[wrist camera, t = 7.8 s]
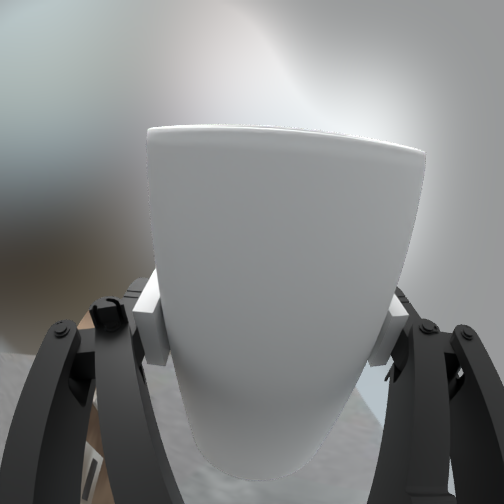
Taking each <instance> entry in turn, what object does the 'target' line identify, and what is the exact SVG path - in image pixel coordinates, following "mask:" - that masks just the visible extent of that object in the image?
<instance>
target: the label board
mask: <svg viewBox="0 0 504 504" xmlns="http://www.w3.org/2000/svg"><path fill="white" fill-rule="evenodd" d="M77 328H78V330H79V329H89V328H95V326H94V324H93V321H92V318H91V315H90V313H89V310H88V312H87V313H86V315H85V316H84V317H83V319H82V320H81V322H80V324H79V325H78V326H77ZM80 504H115V502H114V499H113V495H112V491H111V487H110V483H109V478H108V474H107V469H106V464H105V458H104V453H103V447H102V440H101V433H100V425H99V417H98V407H97V394H96V388H95V393H94V398H93V403H92V408H91V413H90V419H89V425H88V431H87V438H86V445H85V452H84V461H83V471H82V483H81V502H80Z"/></svg>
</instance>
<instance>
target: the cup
mask: <svg viewBox="0 0 504 504" xmlns="http://www.w3.org/2000/svg"><path fill="white" fill-rule="evenodd" d="M146 152H147V179H148V195H149V208H150V220H151V230H152V240H153V249H154V257H155V264H156V272H157V279H158V285H159V292H160V298H161V304H162V309H163V315H164V320H165V326H166V331H167V336H168V341H169V345H170V350H171V355H172V359H173V363H174V368H175V372H176V376H177V380H178V384H179V388H180V392H181V396H182V399H183V403H184V407H185V410H186V414H187V417H188V420H189V424H190V427H191V430H192V434H193V437H194V440H195V443H196V445H197V447H198V449H199V450H200V452H201V453H202V455H203V456H204V457H205V458H206V459H207V461H208V462H210V463H211V464H212V465H213V466H214V467H216V468H217V469H219V470H220V471H222V472H224V473H226V474H228V475H231V476H233V477H236V478H240V479H244V480H251V481H267V480H274V479H278V478H282V477H285V476H288V475H290V474H292V473H294V472H296V471H298V470H299V469H301V468H302V467H304V466H305V465H306V464H307V463H308V462H309V461H310V460H311V459H312V458H313V457H314V456H315V454H316V453H317V451H318V450H319V448H320V446H321V445H322V443H323V442H324V440H325V439H326V437H327V435H328V434H329V432H330V430H331V429H332V427H333V425H334V424H335V422H336V420H337V419H338V417H339V415H340V413H341V411H342V410H343V408H344V406H345V404H346V402H347V401H348V399H349V397H350V395H351V393H352V391H353V389H354V387H355V385H356V383H357V381H358V379H359V377H360V375H361V373H362V371H363V369H364V367H365V365H366V362H367V360H368V358H369V356H370V354H371V351H372V349H373V347H374V344H375V342H376V340H377V337H378V335H379V332H380V330H381V328H382V325H383V322H384V320H385V317H386V315H387V312H388V309H389V307H390V304H391V301H392V298H393V295H394V293H395V290H396V287H397V283H398V281H399V277H400V274H401V271H402V268H403V264H404V261H405V258H406V254H407V251H408V247H409V243H410V239H411V236H412V231H413V227H414V223H415V219H416V214H417V209H418V204H419V200H420V195H421V189H422V184H423V178H424V171H425V162H426V161H425V160H426V152H424V151H422V150H419V149H415V148H411V147H407V146H403V145H399V144H395V143H391V142H385V141H381V140H376V139H371V138H366V137H360V136H354V135H348V134H341V133H335V132H328V131H320V130H312V129H302V128H292V127H279V126H263V125H233V124H228V125H227V124H220V125H219V124H217V125H216V124H215V125H214V124H211V125H181V126H166V127H154V128H149V129H148V131H147V141H146Z"/></svg>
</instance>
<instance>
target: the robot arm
mask: <svg viewBox="0 0 504 504" xmlns="http://www.w3.org/2000/svg"><path fill="white" fill-rule="evenodd" d="M89 313H90V315H91V318H92V321H93V324H94V326H95V328H89V329H79V330H78V328H77V326H76V323H75V322H73V321H71V320H61V321H58V322H56V323H55V324H53V325H52V326H51V327H50V329H49V330H48V332H47V334H46V336H45V338H44V340H43V342H42V344H41V346H40V349H39V351H38V353H37V355H36V358H35V360H34V362H33V365H32V367H31V369H30V372H29V374H28V377H27V379H26V382H25V384H24V387H23V390H22V392H21V395H20V398H19V401H18V404H17V407H16V410H15V413H14V416H13V419H12V423H11V426H10V430H9V433H8V437H7V441H6V445H5V449H4V453H3V458H2V463H1V468H0V504H80V502H81V483H82V471H83V461H84V452H85V445H86V438H87V431H88V425H89V419H90V413H91V408H92V403H93V398H94V393H95V388H96V394H97V407H98V417H99V425H100V433H101V440H102V447H103V453H104V458H105V464H106V469H107V474H108V478H109V483H110V487H111V491H112V495H113V499H114V502H115V504H184V501H183V499H182V496H181V494H180V491H179V489H178V486H177V484H176V481H175V478H174V476H173V473H172V470H171V467H170V465H169V462H168V459H167V456H166V453H165V450H164V446H163V443H162V440H161V437H160V433H159V430H158V426H157V423H156V419H155V416H154V412H153V408H152V404H151V400H150V396H149V392H148V387H147V383H146V378H145V374H144V369H143V366H142V361H143V358H144V355H145V358H146V361H147V364H152V365H159V366H166V362H167V359H168V355H169V352H170V345H169V341H168V336H167V331H166V326H165V320H164V315H163V309H162V304H161V298H160V292H159V285H158V279H157V272H156V268H155V270H154V272H153V274H152V275H151V277H150V278H138V279H137V280H135V281H134V282H133V283H131V285H130V286H129V288H128V289H127V292H126V293H125V294H124V297H123V298H122V299H120V298H118V297H114V296H109V297H108V296H107V297H103V298H100V299H98V300H96V301H94V302H93V303H92V304H91V305H90V308H89ZM390 355H391V356H392V358H393V361H394V363H393V364H392V366H391V368H390V370H389V372H388V374H387V376H386V377H385V381H387V380H388V378H389V377H390V381H389V392H388V401H387V409H386V418H385V424H384V430H383V436H382V442H381V447H380V452H379V457H378V462H377V466H376V471H375V475H374V479H373V483H372V487H371V491H370V494H369V498H368V501H367V504H504V386H503V384H502V382H501V380H500V377H499V375H498V373H497V371H496V369H495V367H494V365H493V363H492V361H491V359H490V357H489V355H488V353H487V351H486V349H485V347H484V345H483V344H482V342H481V340H480V338H479V337H478V335H477V333H476V332H475V331H474V330H473V329H472V328H471V327H469V326H467V325H462V324H461V325H457V326H456V327H455V329H454V331H453V333H446V332H440V330H439V327H438V326H437V325H436V324H435V323H433V322H432V321H430V320H427V319H421V318H420V316H419V315H418V313H417V312H416V311H415V309H414V308H413V306H412V305H411V303H409V301H408V299H407V298H406V297H405V295H404V294H403V292H402V291H401V290H400V289H399V288H398V287H396V290H395V293H394V295H393V298H392V301H391V304H390V307H389V309H388V312H387V315H386V317H385V320H384V322H383V325H382V328H381V330H380V332H379V335H378V337H377V340H376V342H375V344H374V347H373V349H372V351H371V354H370V356H369V358H368V362H369V364H370V366H371V367H373V366H380V365H386V363H387V361H388V360H389V357H390ZM461 368H462V370H463V372H464V373H463V375H462V376H461V377H459V375H458V372H459V371H460V369H461ZM450 459H451V465H452V471H453V478H454V484H455V493H456V497H455V496H454V495H452V494H450V493H449V492H448V477H449V463H450Z"/></svg>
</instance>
